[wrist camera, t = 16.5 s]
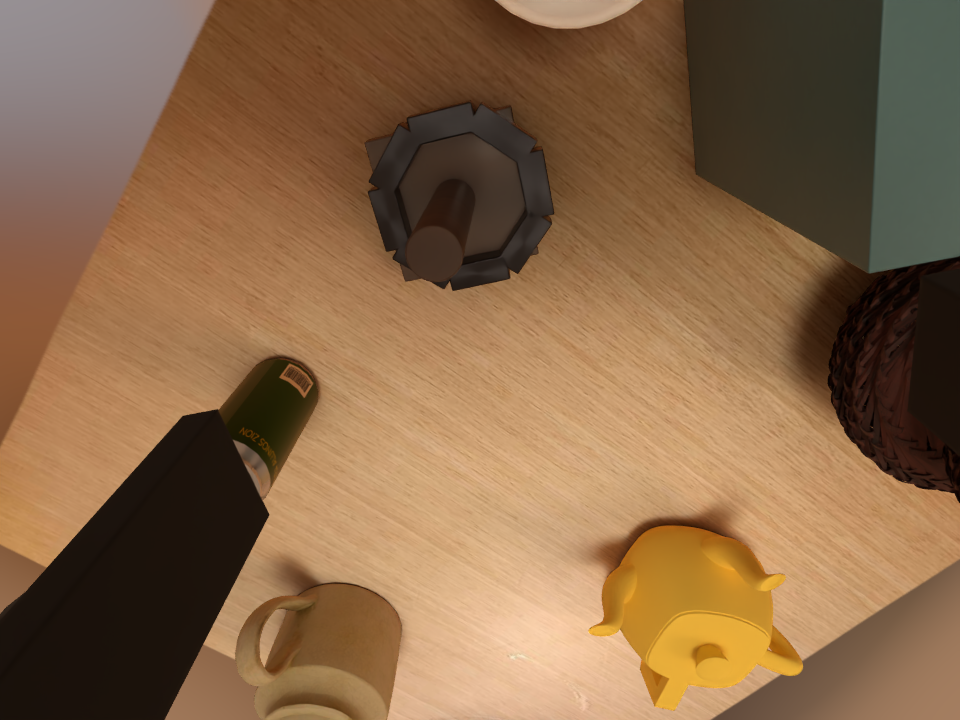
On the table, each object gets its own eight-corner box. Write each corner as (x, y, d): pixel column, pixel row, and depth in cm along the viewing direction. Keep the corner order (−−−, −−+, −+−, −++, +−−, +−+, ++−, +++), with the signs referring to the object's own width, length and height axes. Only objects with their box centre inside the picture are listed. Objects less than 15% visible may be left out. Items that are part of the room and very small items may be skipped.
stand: (683, -7, 34) (887, -89, 16) (873, -56, 32) (1335, -207, 14) (695, 174, 38) (868, 274, 20) (864, 137, 36) (1213, 208, 19)
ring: (355, 129, 36) (349, 132, 34) (530, 85, 35) (531, 85, 33) (405, 293, 40) (401, 302, 39) (561, 260, 39) (564, 267, 38)
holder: (368, 139, 38) (304, 175, 25) (510, 105, 36) (513, 125, 24) (408, 275, 41) (368, 362, 29) (537, 247, 40) (551, 326, 28)
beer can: (270, 340, 44) (194, 430, 33) (334, 380, 45) (281, 478, 34) (238, 392, 46) (156, 492, 35) (300, 428, 47) (240, 536, 36)
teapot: (735, 483, 48) (787, 578, 39) (775, 596, 53) (830, 703, 44) (573, 536, 51) (587, 635, 42) (626, 638, 56) (649, 746, 47)
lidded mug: (229, 611, 57) (143, 783, 43) (286, 541, 52) (210, 706, 39) (363, 679, 60) (322, 857, 47) (426, 619, 56) (401, 794, 43)
